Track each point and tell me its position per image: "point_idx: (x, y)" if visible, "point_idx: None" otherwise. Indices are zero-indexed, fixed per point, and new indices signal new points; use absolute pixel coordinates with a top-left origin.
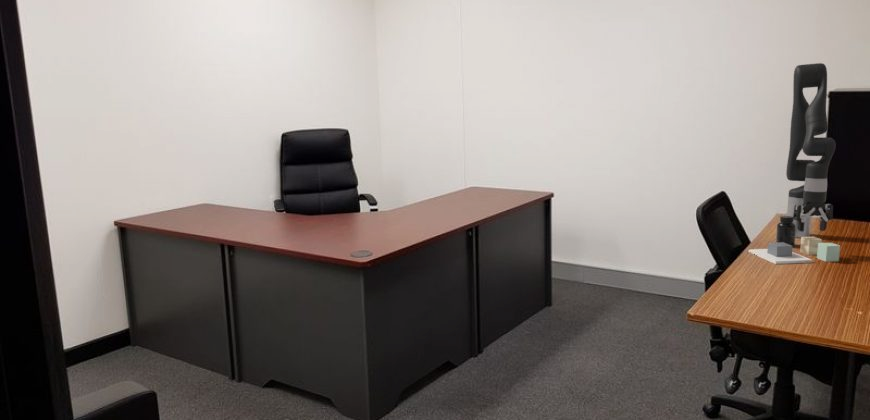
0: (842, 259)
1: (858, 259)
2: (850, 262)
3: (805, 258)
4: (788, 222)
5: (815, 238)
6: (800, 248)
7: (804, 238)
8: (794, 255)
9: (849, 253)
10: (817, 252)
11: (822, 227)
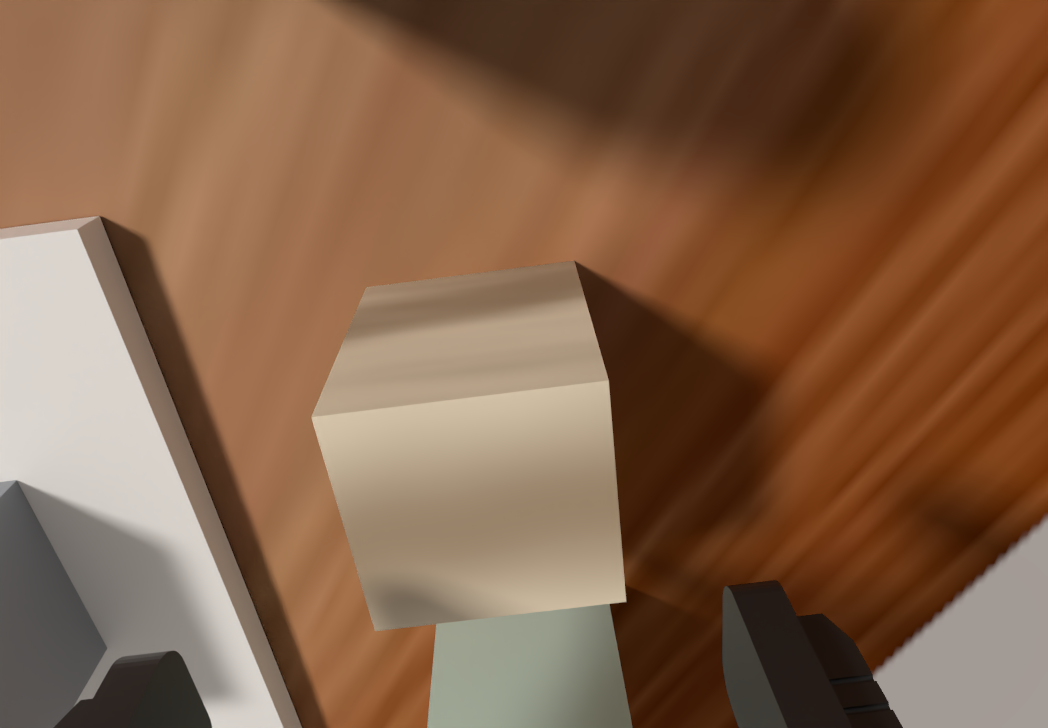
0: (700, 637)
1: (874, 637)
2: (701, 725)
3: (242, 724)
4: None
5: (545, 540)
6: (357, 314)
7: (341, 504)
8: (150, 621)
9: (1009, 399)
10: (433, 660)
11: (753, 722)
